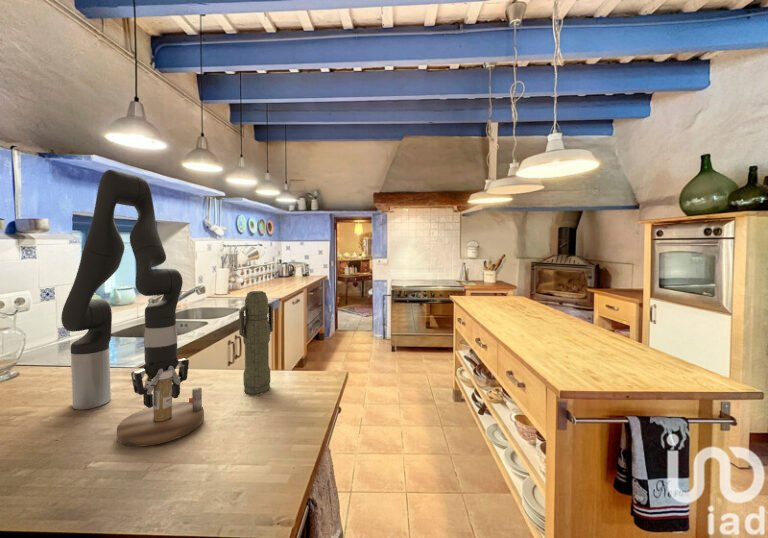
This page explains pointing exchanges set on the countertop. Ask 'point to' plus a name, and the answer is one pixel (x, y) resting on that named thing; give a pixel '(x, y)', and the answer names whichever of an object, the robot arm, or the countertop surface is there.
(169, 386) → the sprinkles bottle
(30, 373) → the countertop surface
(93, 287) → the robot arm
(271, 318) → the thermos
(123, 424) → the turntable
